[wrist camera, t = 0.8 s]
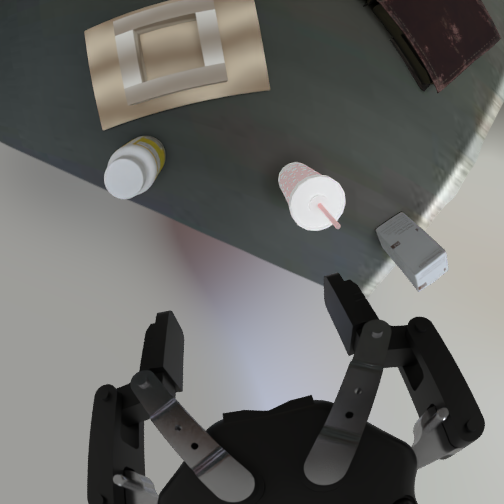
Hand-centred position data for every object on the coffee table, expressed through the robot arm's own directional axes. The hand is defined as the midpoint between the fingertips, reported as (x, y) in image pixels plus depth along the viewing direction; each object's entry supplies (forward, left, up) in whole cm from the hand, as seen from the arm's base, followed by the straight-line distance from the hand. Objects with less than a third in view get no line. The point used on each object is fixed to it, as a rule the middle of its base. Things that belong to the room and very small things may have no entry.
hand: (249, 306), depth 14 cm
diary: (-24, +36, -24) cm, 49 cm away
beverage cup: (+2, +9, -24) cm, 25 cm away
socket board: (-17, -3, -24) cm, 29 cm away
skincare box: (+13, +25, -24) cm, 37 cm away
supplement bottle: (-5, -9, -24) cm, 26 cm away
